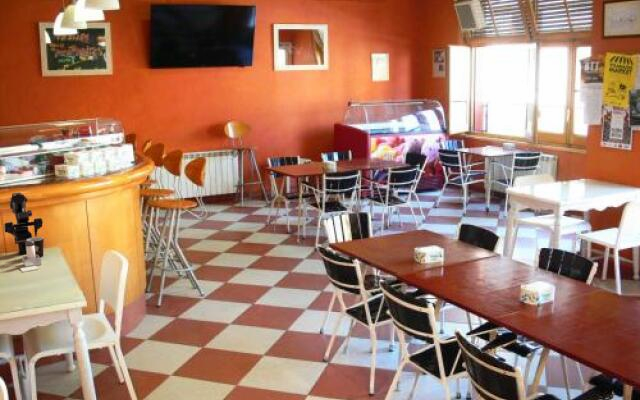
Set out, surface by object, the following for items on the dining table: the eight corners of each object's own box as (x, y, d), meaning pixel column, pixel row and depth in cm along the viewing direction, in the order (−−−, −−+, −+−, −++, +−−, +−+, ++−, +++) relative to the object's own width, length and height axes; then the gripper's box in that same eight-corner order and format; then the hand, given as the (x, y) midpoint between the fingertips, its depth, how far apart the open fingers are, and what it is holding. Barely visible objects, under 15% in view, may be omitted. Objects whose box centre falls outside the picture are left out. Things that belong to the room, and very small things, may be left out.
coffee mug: (48, 254, 367) (46, 237, 365) (40, 259, 358) (38, 241, 356) (28, 254, 368) (26, 237, 366) (20, 259, 359) (18, 241, 357)
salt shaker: (27, 264, 349) (24, 241, 346) (35, 262, 351) (33, 240, 349) (28, 266, 345) (26, 243, 343) (37, 264, 348) (34, 241, 345)
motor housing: (23, 264, 349) (22, 256, 348) (38, 261, 353) (37, 254, 353) (25, 267, 343) (25, 260, 342) (41, 264, 347) (40, 257, 346)
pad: (19, 268, 341) (19, 268, 341) (35, 266, 345) (35, 265, 345) (22, 272, 335) (22, 271, 335) (38, 269, 339) (38, 268, 339)
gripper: (2, 208, 347) (8, 232, 340) (40, 203, 357) (46, 226, 350) (1, 220, 355) (7, 244, 348) (38, 215, 365) (45, 238, 358)
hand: (26, 238), depth 351 cm, fingers open, 9 cm apart
